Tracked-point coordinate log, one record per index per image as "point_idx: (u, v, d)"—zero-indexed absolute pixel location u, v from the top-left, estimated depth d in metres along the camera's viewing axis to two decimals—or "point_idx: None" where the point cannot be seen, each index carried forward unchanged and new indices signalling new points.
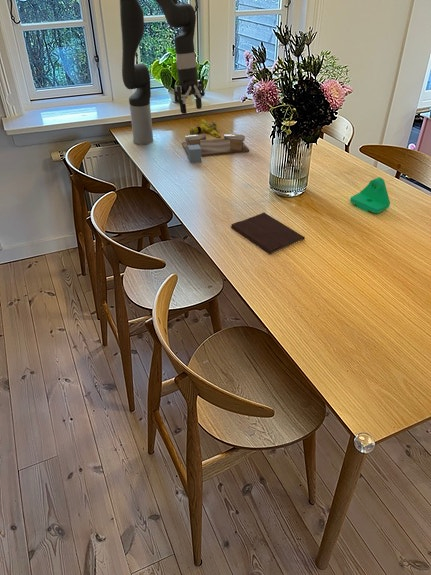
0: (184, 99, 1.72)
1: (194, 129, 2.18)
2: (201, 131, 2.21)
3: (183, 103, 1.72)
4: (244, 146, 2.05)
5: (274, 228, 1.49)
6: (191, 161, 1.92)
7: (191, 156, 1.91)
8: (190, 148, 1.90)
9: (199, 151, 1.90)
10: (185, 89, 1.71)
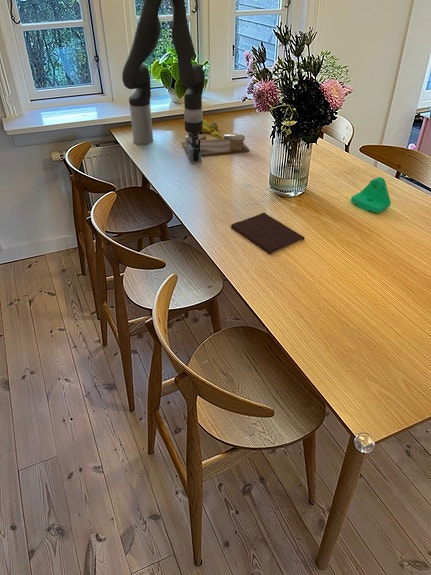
0: (198, 148, 1.89)
1: None
2: None
3: (198, 152, 1.89)
4: (244, 146, 2.05)
5: (274, 228, 1.49)
6: (191, 161, 1.92)
7: (191, 156, 1.91)
8: (190, 148, 1.90)
9: None
10: (197, 140, 1.87)
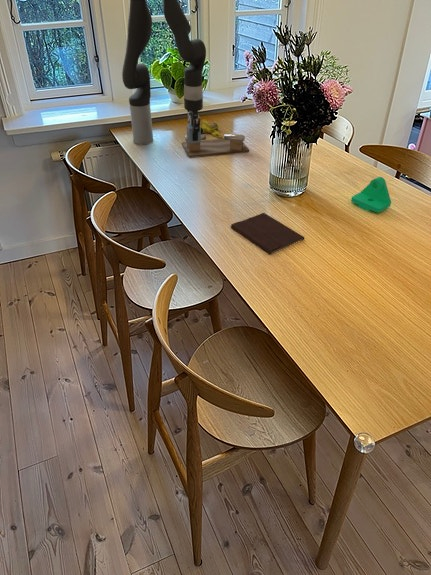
0: (197, 127, 1.84)
1: None
2: None
3: (198, 131, 1.84)
4: (244, 146, 2.05)
5: (274, 228, 1.49)
6: (190, 141, 1.87)
7: (190, 135, 1.86)
8: (189, 127, 1.85)
9: None
10: (197, 119, 1.81)
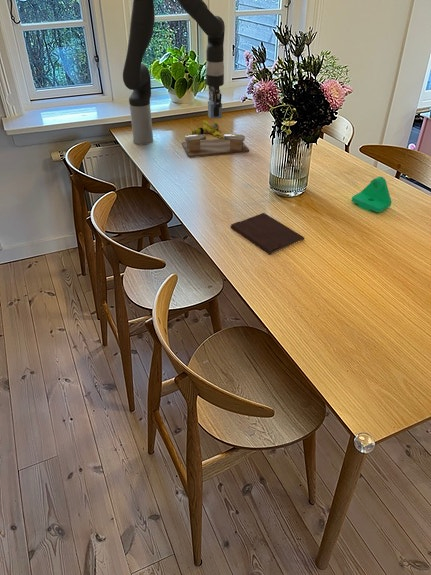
0: None
1: (197, 130, 2.17)
2: (203, 132, 2.20)
3: (219, 107, 1.91)
4: (244, 146, 2.05)
5: (274, 228, 1.49)
6: (212, 116, 1.94)
7: (212, 111, 1.93)
8: (211, 103, 1.92)
9: None
10: None
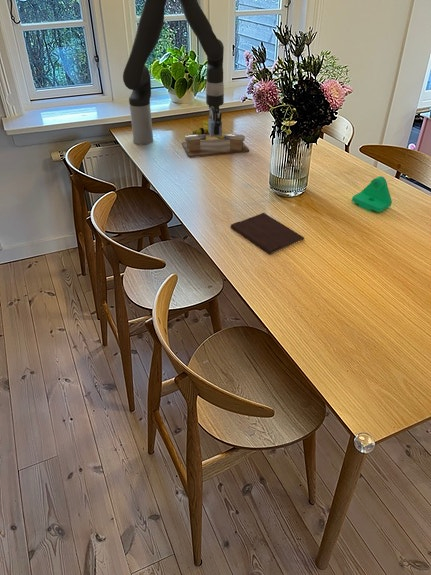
0: (219, 122, 1.96)
1: (197, 131, 2.17)
2: (204, 132, 2.19)
3: (219, 125, 1.96)
4: (244, 146, 2.05)
5: (274, 228, 1.49)
6: (212, 134, 1.99)
7: (212, 129, 1.97)
8: (211, 122, 1.97)
9: None
10: None
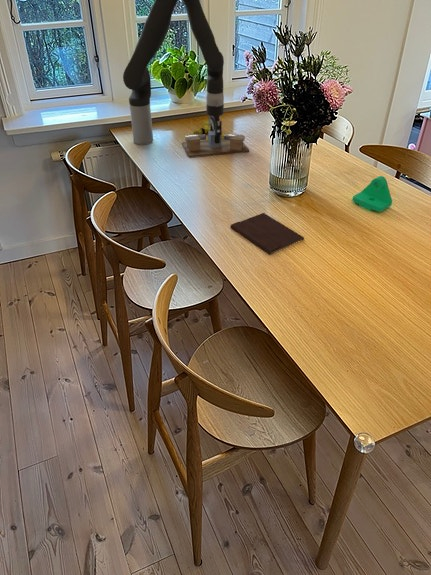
0: (219, 131, 1.97)
1: (198, 131, 2.16)
2: None
3: (220, 134, 1.97)
4: (244, 146, 2.05)
5: (274, 228, 1.48)
6: (211, 146, 2.03)
7: (212, 141, 2.01)
8: (211, 134, 2.00)
9: None
10: None
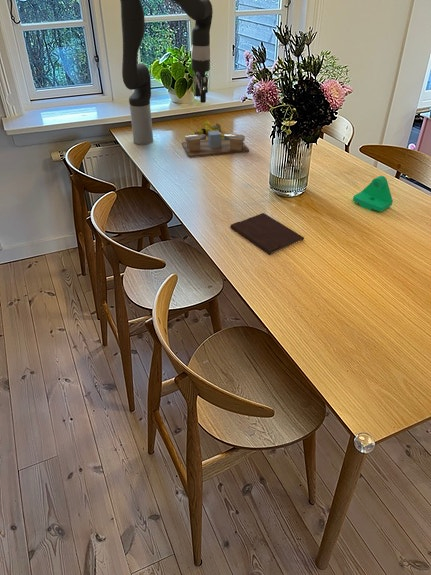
0: None
1: (199, 131, 2.16)
2: (206, 133, 2.19)
3: (206, 92, 1.83)
4: (244, 146, 2.05)
5: (273, 228, 1.48)
6: (211, 146, 2.03)
7: (212, 141, 2.01)
8: (211, 134, 2.00)
9: (219, 136, 2.01)
10: None
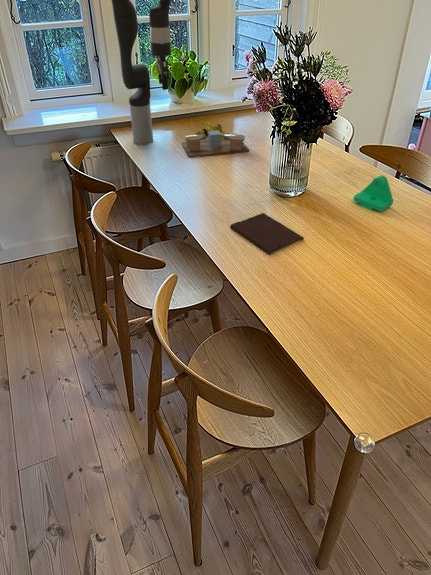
0: (167, 74, 1.70)
1: (200, 132, 2.15)
2: (207, 133, 2.18)
3: (168, 78, 1.70)
4: (244, 146, 2.05)
5: (273, 228, 1.48)
6: (211, 146, 2.03)
7: (212, 141, 2.01)
8: (211, 134, 2.00)
9: (219, 136, 2.01)
10: None
